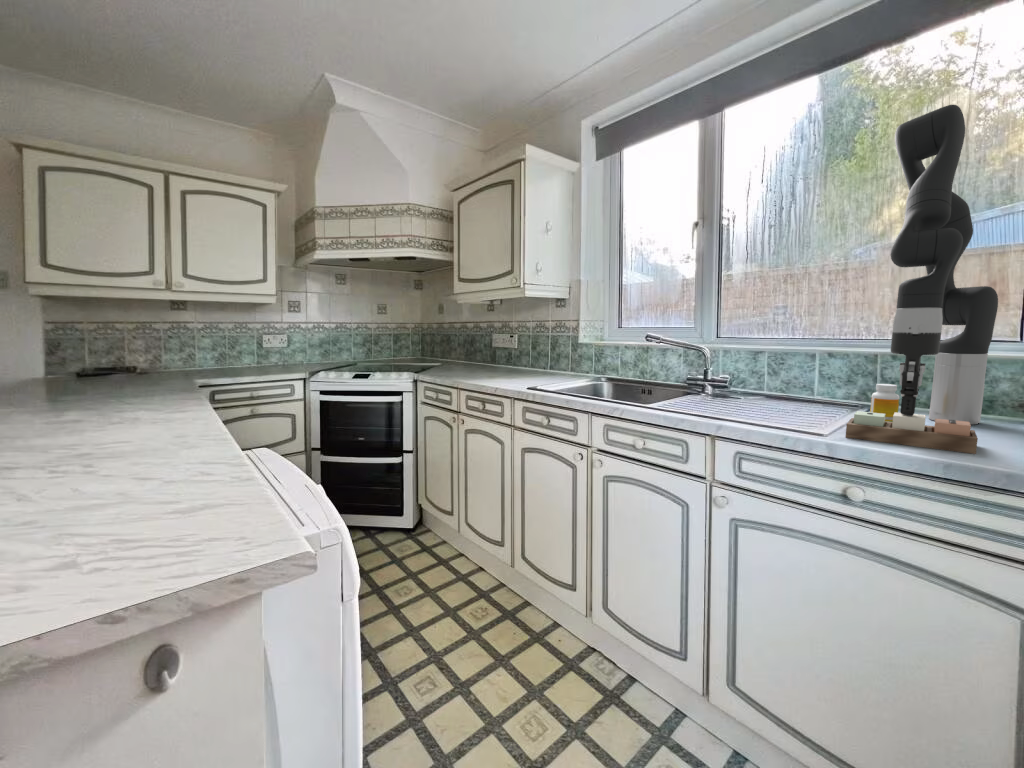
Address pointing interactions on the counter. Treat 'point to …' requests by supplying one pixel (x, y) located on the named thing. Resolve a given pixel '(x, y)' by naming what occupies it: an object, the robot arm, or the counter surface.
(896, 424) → the cream block
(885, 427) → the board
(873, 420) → the pale green block
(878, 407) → the supplement bottle
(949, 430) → the salmon pink block
